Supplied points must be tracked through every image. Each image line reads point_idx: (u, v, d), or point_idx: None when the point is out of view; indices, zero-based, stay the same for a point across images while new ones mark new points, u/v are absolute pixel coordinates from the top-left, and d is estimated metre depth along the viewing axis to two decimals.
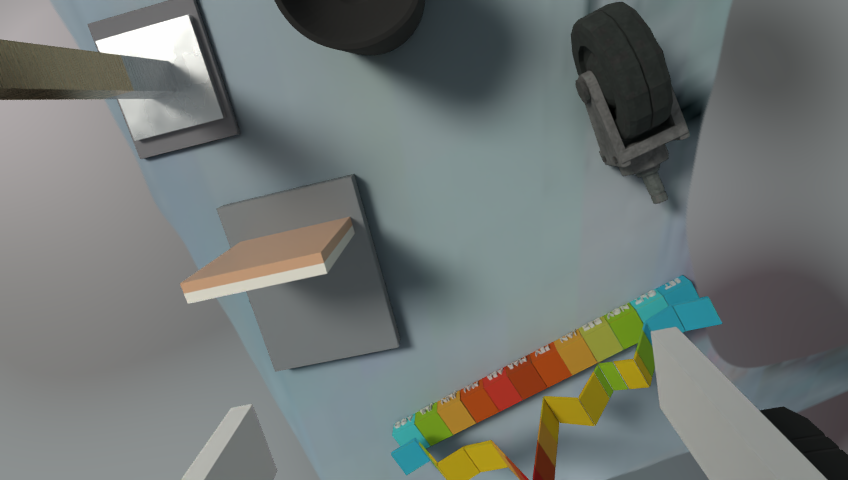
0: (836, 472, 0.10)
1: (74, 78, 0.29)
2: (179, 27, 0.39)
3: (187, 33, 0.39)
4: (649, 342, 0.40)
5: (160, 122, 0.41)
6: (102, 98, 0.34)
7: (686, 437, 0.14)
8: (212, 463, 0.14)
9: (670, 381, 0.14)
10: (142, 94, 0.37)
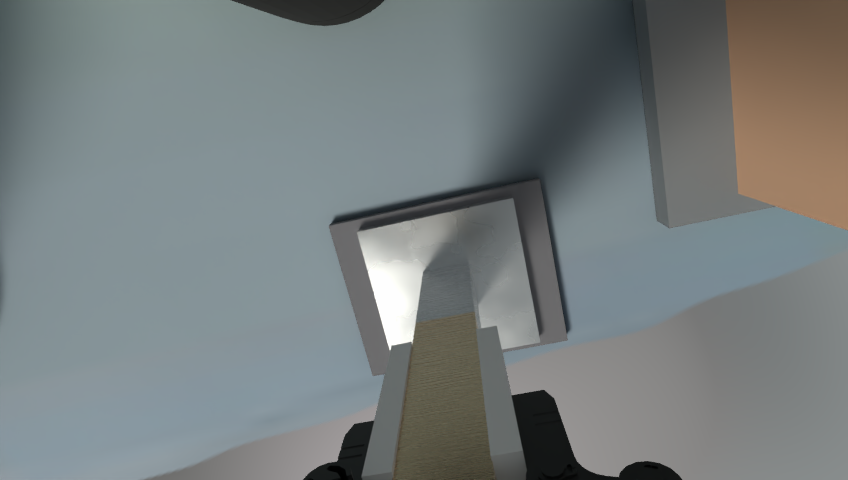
0: (547, 437, 0.13)
1: (461, 391, 0.14)
2: (374, 247, 0.25)
3: (383, 236, 0.25)
4: None
5: (514, 298, 0.26)
6: None
7: None
8: (403, 384, 0.15)
9: None
10: (476, 308, 0.22)
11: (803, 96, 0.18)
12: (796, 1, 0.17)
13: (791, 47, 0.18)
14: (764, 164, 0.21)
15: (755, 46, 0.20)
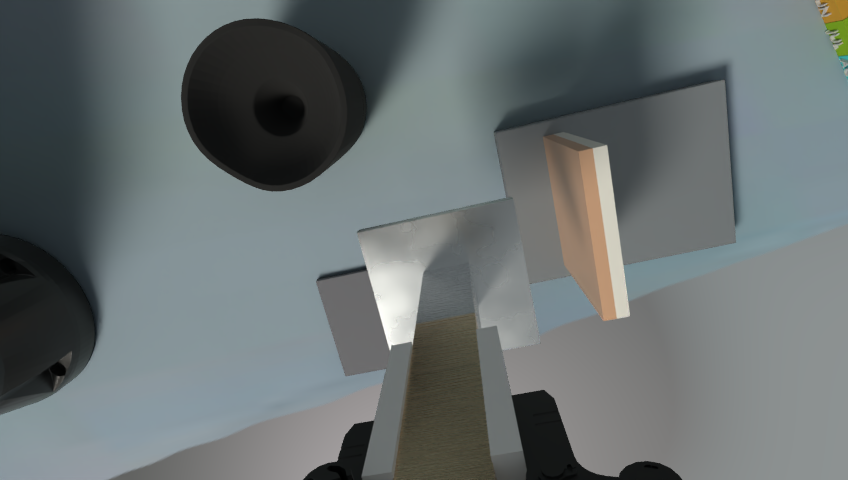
0: (547, 437, 0.13)
1: (462, 393, 0.14)
2: (375, 248, 0.25)
3: (383, 237, 0.25)
4: None
5: (514, 299, 0.26)
6: None
7: None
8: (403, 384, 0.15)
9: None
10: (476, 309, 0.22)
11: (569, 224, 0.33)
12: (561, 176, 0.32)
13: (563, 197, 0.33)
14: (567, 252, 0.36)
15: (556, 188, 0.35)
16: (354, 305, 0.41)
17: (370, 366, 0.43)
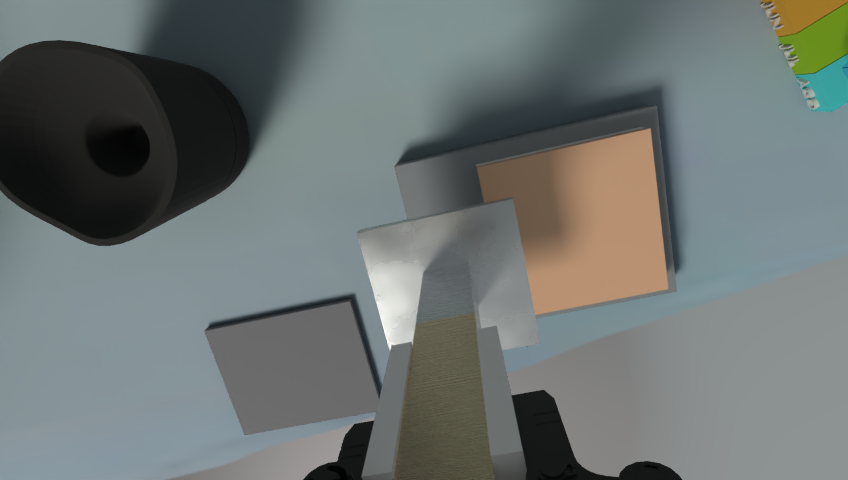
0: (547, 437, 0.13)
1: (462, 392, 0.14)
2: (374, 248, 0.25)
3: (383, 237, 0.25)
4: None
5: (514, 298, 0.26)
6: None
7: None
8: (403, 384, 0.15)
9: None
10: (476, 309, 0.22)
11: (570, 238, 0.30)
12: (558, 188, 0.29)
13: (557, 213, 0.30)
14: (537, 289, 0.31)
15: (520, 217, 0.30)
16: (249, 357, 0.36)
17: (272, 424, 0.38)
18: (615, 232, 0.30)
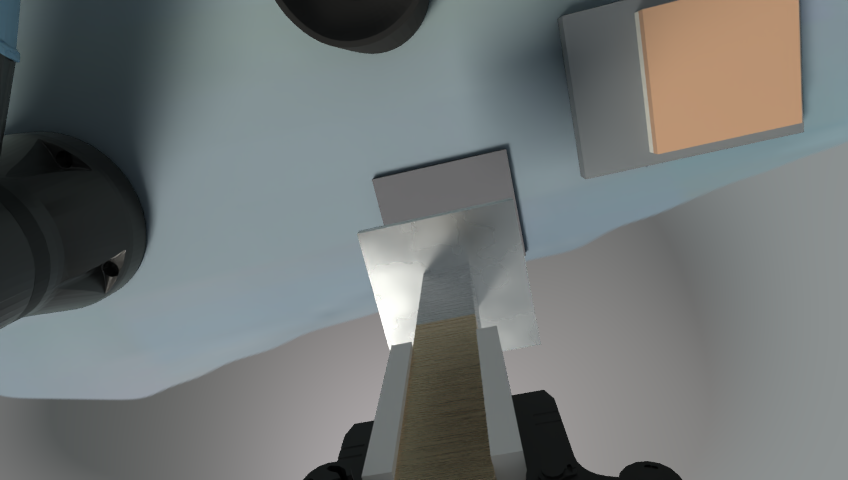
0: (547, 437, 0.13)
1: (462, 394, 0.14)
2: (375, 249, 0.25)
3: (383, 238, 0.25)
4: None
5: (514, 300, 0.26)
6: None
7: None
8: (403, 384, 0.15)
9: None
10: (476, 310, 0.22)
11: (719, 75, 0.35)
12: (712, 28, 0.34)
13: (709, 52, 0.34)
14: (686, 124, 0.36)
15: (676, 56, 0.34)
16: (410, 205, 0.41)
17: None
18: (759, 69, 0.34)
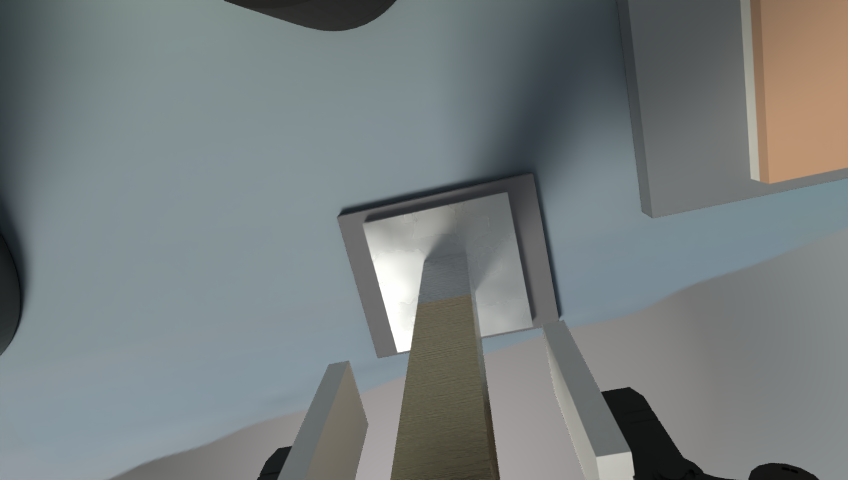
0: (647, 437, 0.12)
1: (458, 359, 0.16)
2: (378, 238, 0.27)
3: (387, 227, 0.27)
4: None
5: (508, 285, 0.28)
6: (481, 342, 0.22)
7: (564, 416, 0.16)
8: (329, 407, 0.15)
9: (553, 367, 0.16)
10: (472, 292, 0.24)
11: None
12: None
13: None
14: (816, 138, 0.23)
15: (809, 31, 0.22)
16: None
17: None
18: None
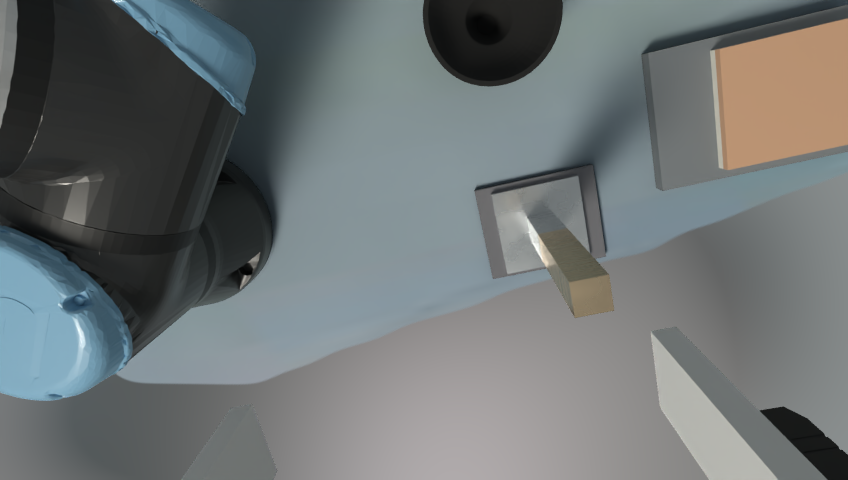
0: (836, 472, 0.10)
1: (575, 248, 0.35)
2: (500, 203, 0.46)
3: (506, 197, 0.46)
4: None
5: (576, 231, 0.47)
6: None
7: (686, 437, 0.14)
8: (212, 463, 0.14)
9: (670, 381, 0.14)
10: None
11: (783, 104, 0.41)
12: (778, 64, 0.40)
13: (775, 84, 0.40)
14: (753, 145, 0.42)
15: (747, 87, 0.41)
16: None
17: None
18: (817, 98, 0.41)
